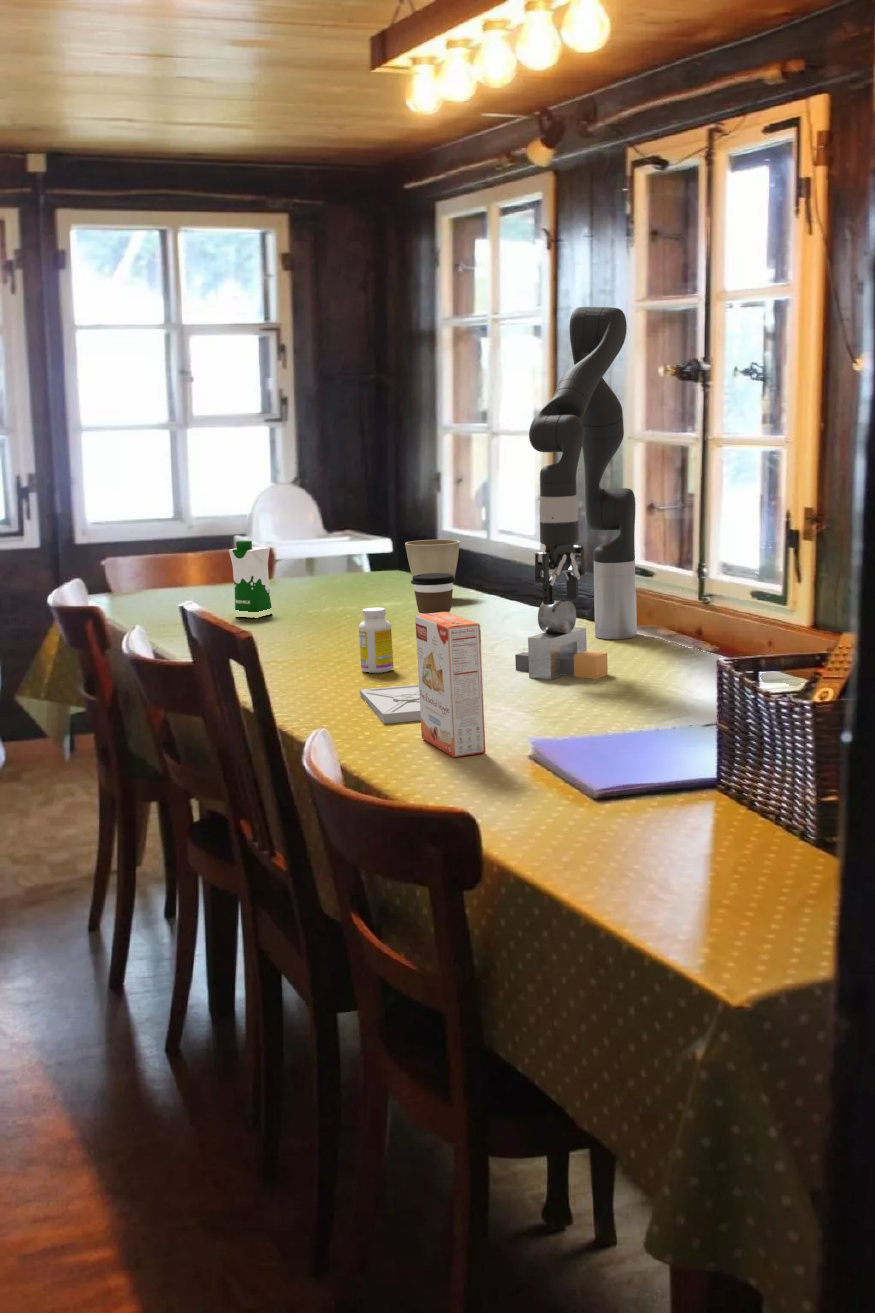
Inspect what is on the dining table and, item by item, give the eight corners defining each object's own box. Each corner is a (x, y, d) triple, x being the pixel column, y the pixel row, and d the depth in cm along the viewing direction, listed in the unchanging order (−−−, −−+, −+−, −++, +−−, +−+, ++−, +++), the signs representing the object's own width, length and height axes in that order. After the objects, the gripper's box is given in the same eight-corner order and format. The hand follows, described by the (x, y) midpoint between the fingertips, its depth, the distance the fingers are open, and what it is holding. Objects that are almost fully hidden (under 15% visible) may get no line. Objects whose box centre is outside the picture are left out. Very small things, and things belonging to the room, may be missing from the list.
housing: (565, 664, 284) (563, 595, 281) (586, 666, 281) (585, 596, 278) (529, 677, 273) (527, 605, 270) (550, 679, 270) (549, 606, 267)
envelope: (431, 693, 266) (360, 700, 263) (430, 682, 265) (359, 688, 262) (460, 718, 243) (383, 725, 240) (460, 705, 242) (383, 712, 239)
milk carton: (230, 618, 364) (224, 542, 360) (252, 612, 371) (247, 538, 368) (256, 619, 359) (250, 542, 355) (278, 614, 367) (273, 538, 363)
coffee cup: (405, 627, 338) (403, 578, 336) (423, 620, 348) (420, 572, 346) (447, 628, 334) (445, 578, 332) (463, 621, 344) (461, 572, 341)
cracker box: (419, 739, 228) (413, 613, 224) (453, 735, 230) (448, 610, 226) (451, 759, 215) (445, 625, 211) (486, 754, 217) (482, 622, 213)
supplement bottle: (398, 667, 288) (395, 606, 286) (386, 674, 282) (383, 611, 280) (368, 667, 290) (365, 606, 288) (356, 673, 284) (352, 611, 282)
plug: (514, 670, 281) (513, 649, 280) (525, 666, 284) (525, 645, 283) (596, 678, 269) (596, 656, 269) (607, 674, 273) (607, 652, 272)
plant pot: (462, 602, 373) (459, 543, 370) (406, 604, 374) (404, 545, 371) (461, 594, 388) (459, 538, 385) (408, 596, 388) (406, 540, 385)
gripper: (555, 522, 262) (557, 607, 265) (594, 516, 273) (596, 597, 276) (522, 522, 267) (524, 605, 270) (562, 515, 278) (564, 595, 281)
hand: (560, 601), depth 273 cm, fingers open, 8 cm apart
